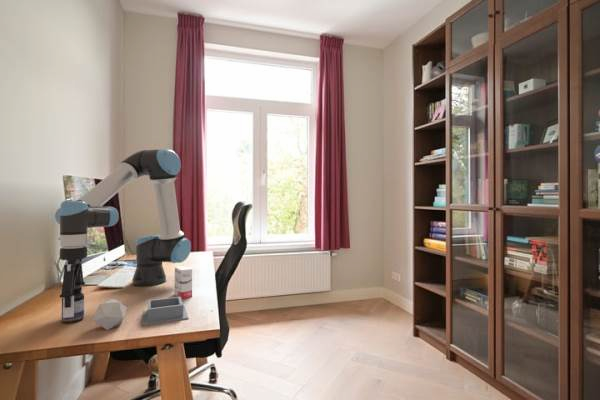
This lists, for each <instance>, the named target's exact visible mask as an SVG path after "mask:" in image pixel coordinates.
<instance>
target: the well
mask: <svg viewBox="0 0 600 400" xmlns="http://www.w3.org/2000/svg"><path fill="white" fill-rule="evenodd" d="M182 299H183V298H182ZM182 299H181V297H178V296H175V297H174V296H173V297H163V298H156V299H148V300H147V310H142V320H141V323H142V324H141V326H149V325H156V324H157V325H158V324H163V323H164V324H165V323H170V322H176V321H177V322H178V321H185V320H189V316H188V312H187V309H186V306H185V305H184V303H183V300H182Z"/></svg>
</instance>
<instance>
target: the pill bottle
mask: <svg viewBox="0 0 600 400" xmlns="http://www.w3.org/2000/svg"><path fill="white" fill-rule="evenodd" d="M81 290H82V291H83V285H81V286H74V291H73V296H74V316H73V317H68V318H63V297H62V298H61V323H62V324H74V323H77V322H80V321H82V320H83V319H84V318H85V294H84V293H83V292H82V293H81Z"/></svg>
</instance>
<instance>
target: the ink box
mask: <svg viewBox="0 0 600 400" xmlns="http://www.w3.org/2000/svg"><path fill="white" fill-rule="evenodd" d="M173 294H174V295H175V297H181V299H188V298H191V297H193V268H190V267H187V266H185V265H184V266H182V265H181V266H175V267H174V292H173Z"/></svg>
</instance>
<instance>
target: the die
mask: <svg viewBox="0 0 600 400" xmlns="http://www.w3.org/2000/svg"><path fill="white" fill-rule="evenodd" d="M127 309H128V307H127V306H126V305H124V304H122V303H121V302H119V301H118V300H116V299H115V298H111V299H108V300H106V301H103V302H101V303H99V304H98V306H97V309H96V312H95V314H94V316H93V319H92V322H93V323H95V324H97V325H98V326H100V327H102V328H103V329H105V330H106V331H109V330H111V329H113V328H116V327H117V326H120V325H121V324H122V322H123V320H124V318H125V315H126V313H127Z"/></svg>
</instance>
